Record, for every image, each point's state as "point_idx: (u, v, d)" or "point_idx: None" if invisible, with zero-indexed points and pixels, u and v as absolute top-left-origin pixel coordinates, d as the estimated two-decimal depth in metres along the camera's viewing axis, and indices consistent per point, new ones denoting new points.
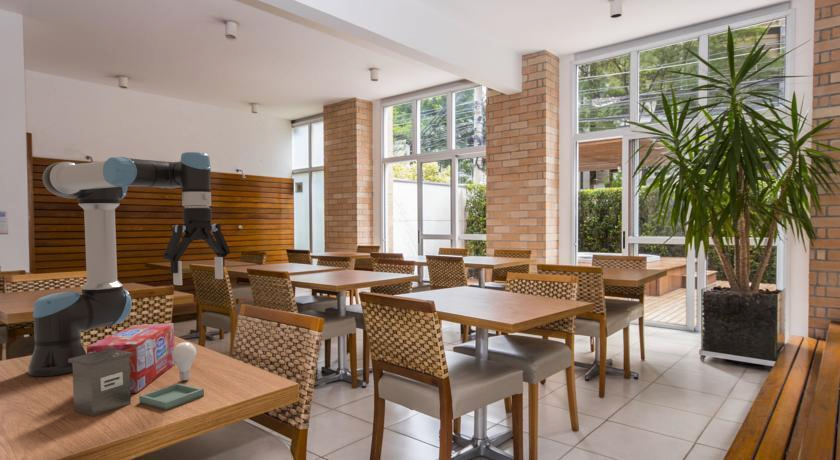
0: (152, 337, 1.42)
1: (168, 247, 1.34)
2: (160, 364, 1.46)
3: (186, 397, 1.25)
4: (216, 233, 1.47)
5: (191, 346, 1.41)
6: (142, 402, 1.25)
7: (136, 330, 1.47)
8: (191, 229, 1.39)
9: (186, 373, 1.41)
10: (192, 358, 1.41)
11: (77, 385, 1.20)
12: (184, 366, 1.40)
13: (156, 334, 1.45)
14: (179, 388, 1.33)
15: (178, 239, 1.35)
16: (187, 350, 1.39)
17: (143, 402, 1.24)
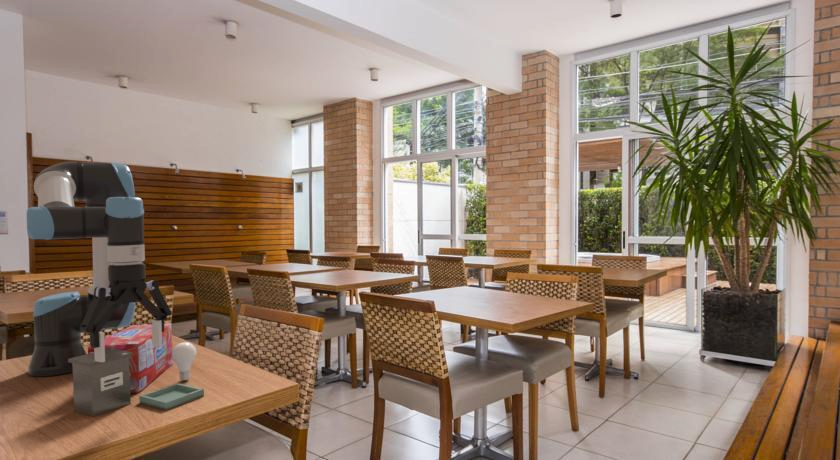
0: None
1: (86, 316, 1.09)
2: (160, 364, 1.47)
3: (186, 397, 1.25)
4: (153, 292, 1.21)
5: (191, 346, 1.41)
6: (142, 402, 1.25)
7: (135, 330, 1.47)
8: (118, 291, 1.13)
9: (186, 373, 1.41)
10: (192, 358, 1.41)
11: (77, 385, 1.20)
12: (184, 366, 1.40)
13: None
14: (179, 388, 1.33)
15: (99, 306, 1.10)
16: (187, 350, 1.39)
17: (143, 402, 1.24)
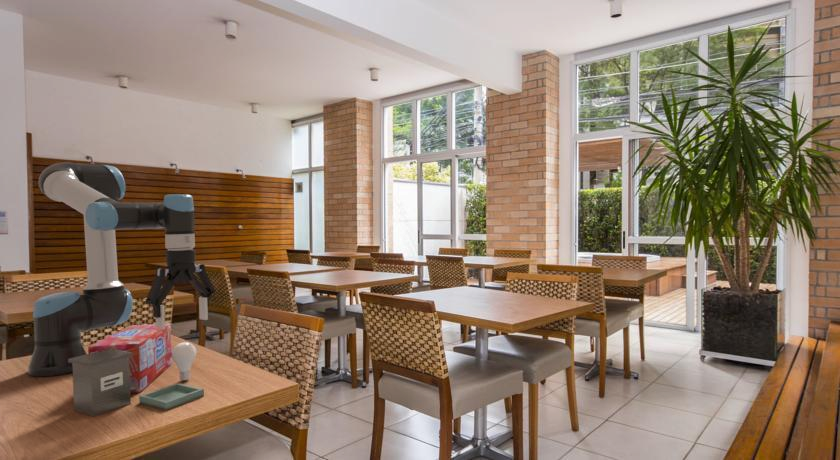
0: (152, 337, 1.42)
1: (150, 291, 1.33)
2: (159, 364, 1.47)
3: (186, 397, 1.25)
4: (200, 273, 1.46)
5: (191, 346, 1.41)
6: (142, 402, 1.25)
7: (134, 330, 1.47)
8: (174, 272, 1.38)
9: (186, 373, 1.41)
10: (192, 358, 1.41)
11: (77, 385, 1.20)
12: (184, 366, 1.40)
13: (156, 334, 1.45)
14: (179, 388, 1.33)
15: (160, 283, 1.34)
16: (187, 350, 1.39)
17: (143, 402, 1.24)
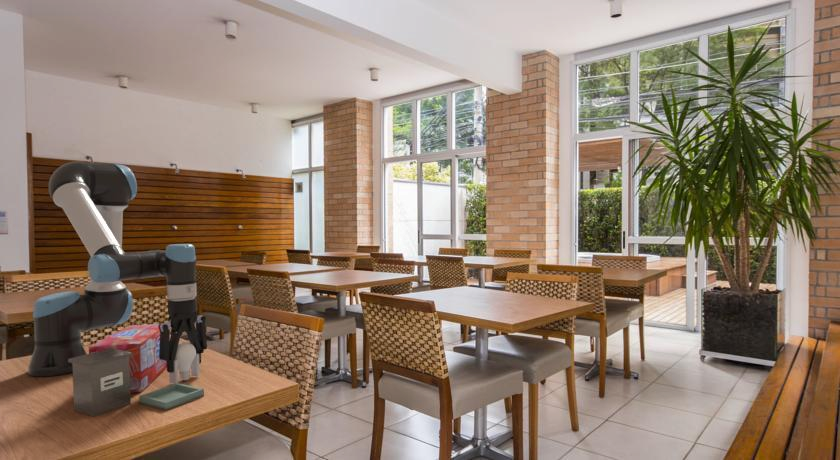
0: (152, 337, 1.42)
1: (161, 348, 1.36)
2: (159, 364, 1.47)
3: (186, 397, 1.25)
4: (199, 325, 1.46)
5: (191, 346, 1.41)
6: (142, 402, 1.25)
7: (134, 330, 1.47)
8: (176, 322, 1.38)
9: (186, 373, 1.41)
10: (192, 358, 1.41)
11: (77, 385, 1.20)
12: (184, 366, 1.40)
13: (155, 334, 1.45)
14: (179, 388, 1.33)
15: (167, 338, 1.36)
16: (187, 350, 1.39)
17: (143, 402, 1.24)
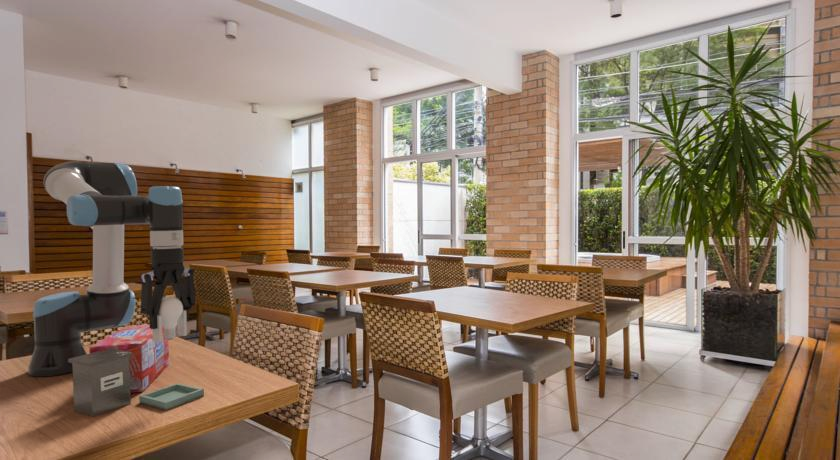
0: (152, 337, 1.42)
1: (142, 301, 1.21)
2: (159, 364, 1.47)
3: (186, 397, 1.25)
4: (187, 279, 1.31)
5: (177, 300, 1.26)
6: (142, 402, 1.25)
7: (133, 330, 1.47)
8: (160, 272, 1.23)
9: (172, 331, 1.26)
10: (178, 314, 1.26)
11: (77, 385, 1.20)
12: (169, 322, 1.25)
13: None
14: (179, 388, 1.33)
15: (150, 290, 1.21)
16: (172, 304, 1.24)
17: (143, 402, 1.24)
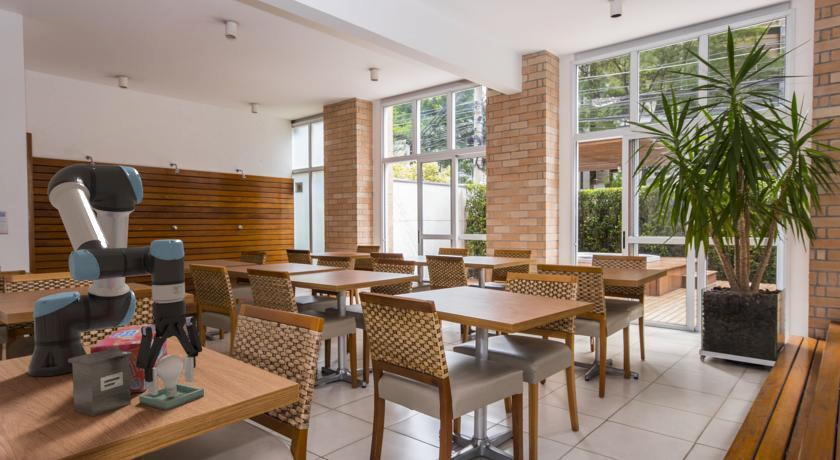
0: (153, 336, 1.42)
1: (139, 354, 1.20)
2: None
3: (186, 397, 1.25)
4: (190, 328, 1.32)
5: (177, 359, 1.26)
6: (142, 402, 1.25)
7: (132, 331, 1.47)
8: (162, 326, 1.24)
9: (172, 389, 1.26)
10: (179, 372, 1.26)
11: (77, 385, 1.20)
12: (170, 382, 1.25)
13: None
14: (179, 388, 1.33)
15: (149, 343, 1.21)
16: (173, 363, 1.25)
17: (143, 402, 1.24)
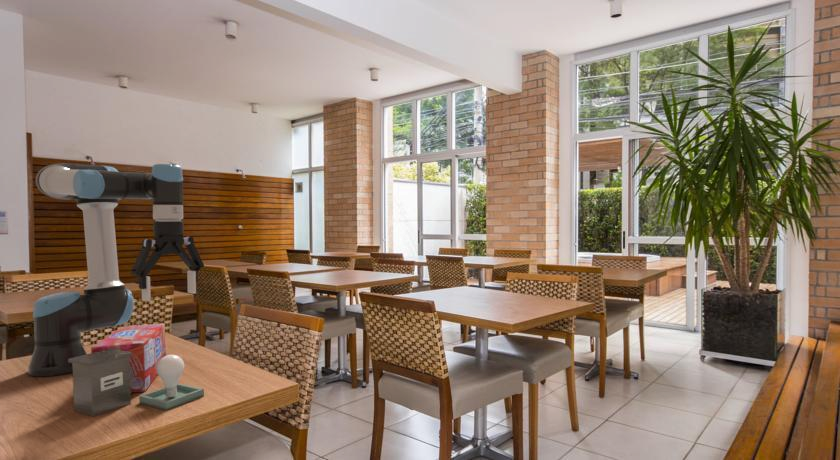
0: (153, 336, 1.42)
1: (136, 262, 1.31)
2: None
3: (186, 397, 1.25)
4: (189, 246, 1.43)
5: (178, 359, 1.27)
6: (142, 402, 1.25)
7: (131, 331, 1.46)
8: (161, 243, 1.35)
9: (173, 389, 1.26)
10: (179, 372, 1.26)
11: (77, 385, 1.20)
12: (170, 381, 1.25)
13: (155, 334, 1.45)
14: (179, 388, 1.33)
15: (147, 254, 1.31)
16: (173, 363, 1.25)
17: (143, 402, 1.24)
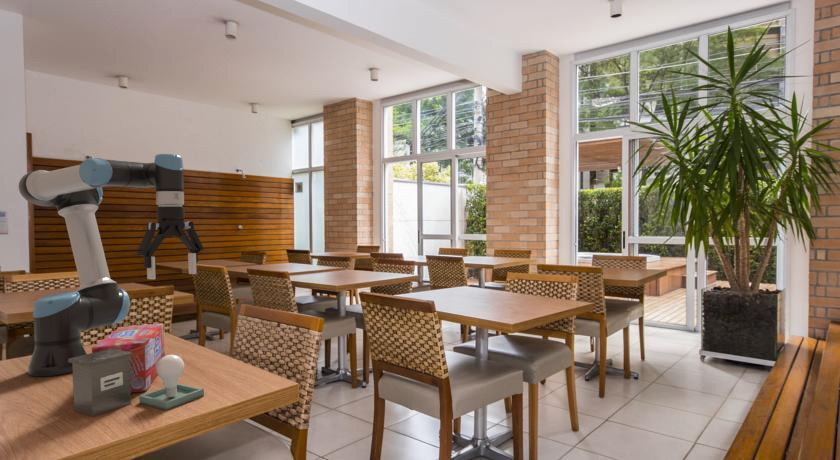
0: (153, 336, 1.43)
1: (142, 243, 1.43)
2: None
3: (186, 397, 1.25)
4: (189, 230, 1.55)
5: (178, 359, 1.26)
6: (142, 402, 1.25)
7: (130, 331, 1.46)
8: (164, 226, 1.47)
9: (173, 389, 1.26)
10: (179, 372, 1.26)
11: (77, 385, 1.20)
12: (170, 381, 1.25)
13: (154, 334, 1.45)
14: (179, 388, 1.33)
15: (151, 236, 1.43)
16: (173, 363, 1.25)
17: (143, 402, 1.24)
